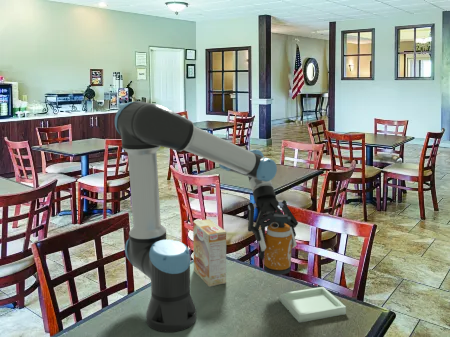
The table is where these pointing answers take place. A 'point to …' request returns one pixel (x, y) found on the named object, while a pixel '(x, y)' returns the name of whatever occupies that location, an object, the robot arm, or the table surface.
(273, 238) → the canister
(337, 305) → the tray
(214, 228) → the coffeecake box
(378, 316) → the table surface
